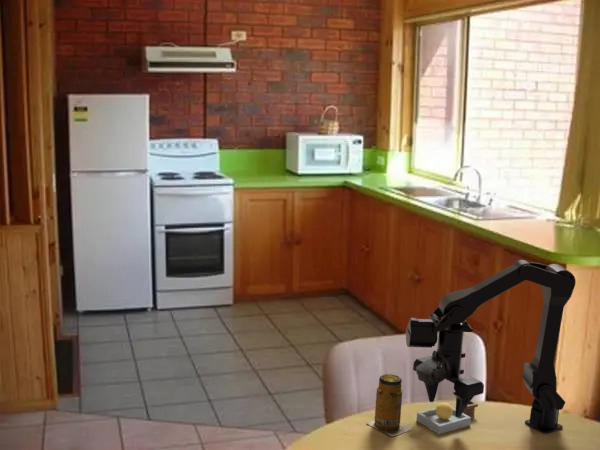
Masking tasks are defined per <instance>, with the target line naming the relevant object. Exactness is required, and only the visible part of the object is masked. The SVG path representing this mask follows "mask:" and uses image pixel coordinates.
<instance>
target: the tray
mask: <svg viewBox="0 0 600 450" xmlns="http://www.w3.org/2000/svg"><path fill="white" fill-rule="evenodd" d="M451 407H452V410H453V413H452V416H451V417H450V418H449V419H447V420H443V419H440V418H439V417H438V416H437V414H436V407H433V408H430V409H425V410H422V411H419V412H416V421H417V422H419V423H420V424H422V425H423V426H426V427H427V428H428V429H430V430H431V431H434V432H435V433H436V434H438V435H441V434H444V433H448V432H451V431H455V430H459V429H462V428H466V427H469V426H471V420H472V418H471V417H469V416H467V415H466V414H464V413H462V415H461V416H460V417H456V407H453V406H451Z"/></svg>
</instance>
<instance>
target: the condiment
mask: <svg viewBox="0 0 600 450" xmlns="http://www.w3.org/2000/svg"><path fill="white" fill-rule="evenodd" d="M378 381H379V382H378V387H376V395H375V409H374V410H375V411H374V419H373V420H371V421H368V422H366V424H367V425H369V426H370V427H372V428H374V429H376V430H378V431H381V432H382V433H383V434H386V435H388V436H390V437H396V436H398V435H401V434H405V433H406V432H409V431H411V430H413V428H412V427H411V426H409V425H406V424H404V423H402V422H401V417H402V416H401V413H402V403H403V389H402V383H403V380H402V378H401V377H400V376H399V375H396V374H393V373H387V374H382V375H380V376H379V379H378Z"/></svg>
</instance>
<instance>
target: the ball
mask: <svg viewBox="0 0 600 450" xmlns="http://www.w3.org/2000/svg"><path fill="white" fill-rule="evenodd" d="M452 407H453V406H451V405H450V403H448V402H440V403H439V404H437V406H436V407H435V408H436V414H437V416H438V417H439V418H440V419H443V420H447V419H449V418H450V417H451V416H452V413H453V410H452Z"/></svg>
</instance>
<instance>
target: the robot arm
mask: <svg viewBox="0 0 600 450" xmlns="http://www.w3.org/2000/svg"><path fill="white" fill-rule="evenodd" d="M525 281H527V282H531V283H534V284H537V285H540V286H541V292H542V298H543V304H542V311H541V316H540V317H541V318H540V322H539V329H538V334H537V340H536V346H535V352H534V356H533V359H532V360H531V362H524V364H523V367H524V368H523V373H522V375H521V378H522V379H523V383H524V385H525V387H526V388H527V389H528V391H529V392H530V394H531V396H533V397H534V399H533V401H532V402H531V408H530V414H529V419H526V420H524V423H525V424H526V425H529V426H530V427H532V428H534V429H536V430H537V431H539V432H541V433H544V434H548V433H552V432H555V431H558V430H561V429H563V427H564V426H563V425H562V424H560V423H559V415H560V410H563V409H564V407H565V404H566V401H565V400H564V398H563V397H562V396H561V395H560V393H558V391H557V388H558V387H557V373H556V368H555V360H556V354H557V349H558V348H557V347H558V344H559V343H558V342H559V337H560V331H561V324H562V322H563V321H562V320H563V314H564V310H565V306H566V304H568V302H569V300H570V299H571V298H572V295H573V293H574V290H575V287H576V277H575V276H574V274H573V273H572V272H570V270H568V269H567V268H565V267H564V266H562V265H561V264H558V263H550V264H548V265H547V264H543V263H540V262H533V261H532V262H531V261H527V260H524V259H519V260H515V262H514V263H513V264H511V265H510V266H507V267H506V268H504V269H502V270H501V271H498V272H497V273H495V274H493V275H491V276H489V277H488V278H486V279H484V280H482V281H480V282H478V283H477V284H475V285H473V286H471V287H468V288H464V289H458V290H457V289H456V290H455V291H451V292H449V293H447V294H444V295H443V296H441V298H440V300H439V302H438V306H437V307H436V308H435V309H434V310H433V312H432V313H431V314H430V315H429V319H428V318H416V317H409V318H408V323H407V327H406V329H405V343H406V346H407V348H423V349H424V348H426V349H432V348H433V347H435V346H436V345H437V349H433V352H432V354H431V355H427V356H423V357H419V358H416V359H415V360H414V362H413V364H412V365H413V368H412V370H413V371H415V373H416V375H417V379H418V380H419V381H420V382H423V383H424V386H425V389H426V393H427V397H428V401H429V402H430V403H433V402H435V399H436V396H437V392H438V388H439V385H440V383H442V382H443V381H444V380H447V381H449V382H451V383H453V390H454V391H453V392H452V394H453V396H454V397H455V409H456V417H460V416H461V415H462V413H463V411H464V410H465V408H466V407H467V405H468V404H469V402H470V401H472V400H473V398H474V397H477V396H479V395H481V394H484V390H485V389H484V388H485V384H484V383H483V381H482V380H479V379H477V378H475V377H473V376H467V377H460V375H464V373H465V368H462V366H461V365H462V359H463V358H466V352H464V351H463V344H464V335H465V334H464V333H473V331H474V329H473V328H472V327H471V325H470V324H469V323H468V322H467V320H468V319H469V318H470V317H471V316H473V314H475V312H476V311H477V310H478V309H479V308H480V307H481V306H482V305H483V304H485V303H487V302H490V301H491V300H493V299H494V298H496V297H498V296H500V295H502V294H503V293H505V292H507V291H509V290H511V289H512V288H514V287H516V286H518V285H520V284H521V283H523V282H525Z"/></svg>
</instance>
